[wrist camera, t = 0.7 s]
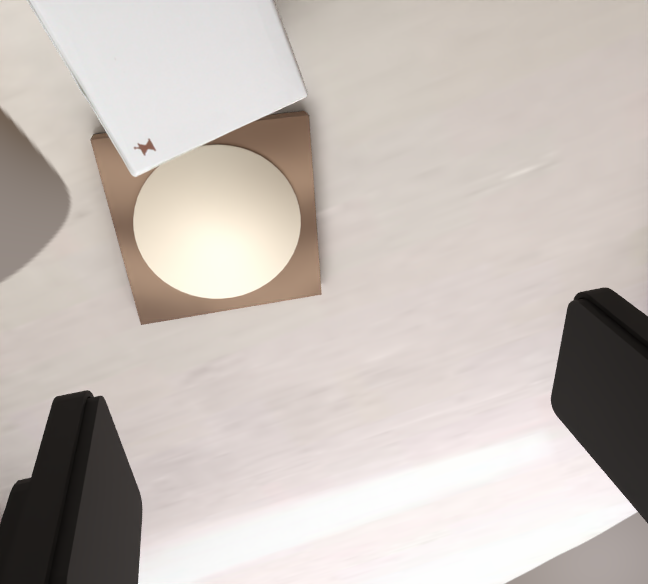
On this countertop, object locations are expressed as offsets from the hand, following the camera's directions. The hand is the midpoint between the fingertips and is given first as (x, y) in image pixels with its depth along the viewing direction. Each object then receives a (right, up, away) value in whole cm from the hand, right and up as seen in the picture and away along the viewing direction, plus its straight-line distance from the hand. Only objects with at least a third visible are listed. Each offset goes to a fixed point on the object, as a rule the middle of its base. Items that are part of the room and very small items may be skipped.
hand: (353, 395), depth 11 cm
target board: (-7, +7, +24) cm, 26 cm away
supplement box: (-8, +17, +18) cm, 26 cm away
